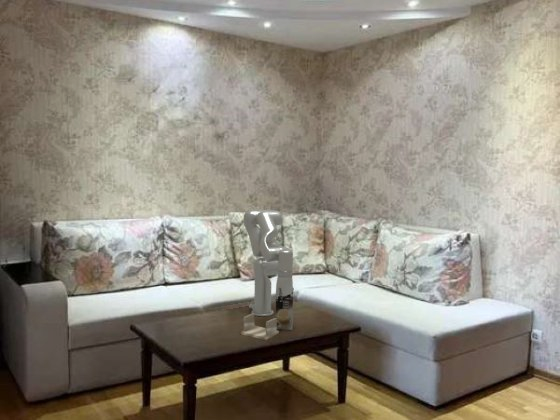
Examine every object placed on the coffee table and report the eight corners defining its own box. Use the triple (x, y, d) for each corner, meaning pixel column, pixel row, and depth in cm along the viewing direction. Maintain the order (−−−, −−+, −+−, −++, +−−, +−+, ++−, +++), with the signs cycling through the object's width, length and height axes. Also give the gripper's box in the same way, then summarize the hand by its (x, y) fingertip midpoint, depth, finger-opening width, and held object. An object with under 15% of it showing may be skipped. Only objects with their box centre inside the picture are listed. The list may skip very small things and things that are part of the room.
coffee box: (274, 329, 260) (275, 298, 259) (275, 325, 267) (276, 295, 265) (292, 330, 259) (293, 299, 258) (293, 326, 266) (293, 296, 264)
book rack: (240, 334, 251) (240, 318, 251) (254, 327, 262) (254, 312, 261) (266, 340, 244) (266, 323, 243) (279, 333, 254) (279, 317, 253)
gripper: (287, 269, 270) (286, 301, 271) (269, 275, 255) (269, 309, 256) (299, 271, 266) (298, 304, 267) (282, 277, 251) (282, 311, 253)
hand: (284, 306), depth 262 cm, fingers closed on coffee box, 8 cm apart
